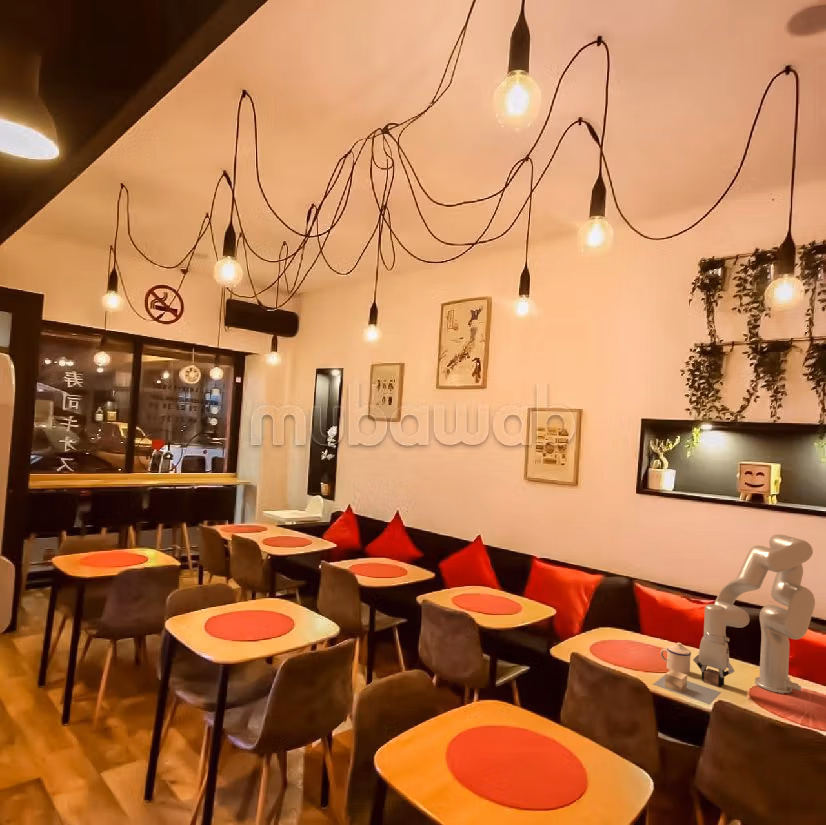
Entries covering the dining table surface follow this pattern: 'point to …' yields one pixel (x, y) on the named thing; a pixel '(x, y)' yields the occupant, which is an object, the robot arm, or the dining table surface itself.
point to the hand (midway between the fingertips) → (712, 683)
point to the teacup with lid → (677, 658)
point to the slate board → (693, 691)
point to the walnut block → (711, 677)
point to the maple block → (676, 681)
